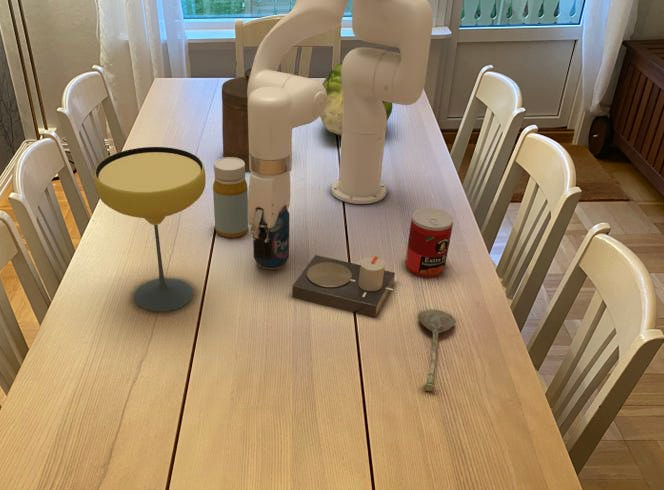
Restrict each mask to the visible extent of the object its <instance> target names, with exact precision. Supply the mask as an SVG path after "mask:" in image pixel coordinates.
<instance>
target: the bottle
mask: <svg viewBox="0 0 664 490" xmlns="http://www.w3.org/2000/svg"><path fill="white" fill-rule="evenodd" d="M213 172H214V180H213V184H212V193H213V194H212V195H213V213H214V228H215V229H214V230H215V232H216V233H217V234H218V235H219V236H221V237H224V238H229V239H234V238H235V239H237V238H240V237H242V236H244V235H245V234H246V233H247V232H248V230H249V223H248V190H249V186H248V182H247V180H246V171H245V163H244V161H243V160H241V159H239V158H233V157H227V158H223V157H221V158H219V159H216V161H215V162H214V163H213Z"/></svg>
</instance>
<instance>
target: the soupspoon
mask: <svg viewBox="0 0 664 490" xmlns="http://www.w3.org/2000/svg"><path fill="white" fill-rule="evenodd" d="M417 318H418V320H419V322H420V323H421V324H422V325H423V326H424V327H425V328H427V330H429V331H430V332H431V333H432V337H431V338H432V339H431V343H432V344H431V353H430V366H429V373H428V374H427V375H428V377H427V379H426V382H425V384H424V385H423V386H422V388H423V390H425V391H427V392H433V391H434V390H435V389H436V388H435V385H434V380H435V379H434V377H435V368H436V362H437V361H436V360H437V350H438V349H437V348H438V341H439V334H440V333H444V332H446V331H449V330H450V329H451V328H453V327H454V326H455V325H456V322H457V321H456V319H455V317H454V316H452V314H450V313H448V312H445V311H442V310H438V309H427V310H423V311H421V312H419V313H418V314H417Z"/></svg>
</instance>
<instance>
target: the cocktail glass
mask: <svg viewBox="0 0 664 490" xmlns="http://www.w3.org/2000/svg"><path fill="white" fill-rule="evenodd" d="M93 178H94V180H93V181H94V187H95V191H96V194H97V196H98V198H99V199H100V200H101V202H102V203H103V204H104V205H105V206H106V207H108V208H109V209H111V210H113V211H114V212H117V213H118V214H122V215H125V216H128V217H133V218H140V219H144V220H145V221H147V222H148V224H150V225H152V226H153V227H154V236H155V237H154V238H155V244H156V245H155V247H156V254H157V265H158V278H157V279H152V280H149V281H147V282H145V283H143V284H141V285H140V286H139V287H137V289H136V290H135V292H134V294H133V295H134V296H133V299H134V303H135V304H136V305H137V306H138V307H140V308H141V309H143V310H146V311H148V312H153V313H167V312H168V313H169V312H174V311H176V310H179V309H181V308H183V307H185V306H186V305H188V304H189V303H190V302H191V300H192V299H193V294H194V292H193V288H192V287H191V285H190V284H188V283H187V282H185V281H183V280H181V279H176V278H170V277H169V278H167V277H166V278H165V275H164V267H163V260H162V259H163V258H162V252H161V243H160V242H161V241H160V235H159V225H160V224H161V223H162V222H164V220H165V218H166V217H169V216H172V215H175V214H178V213H180V212H183V211H184V210H187V209H188V208H189V207H191V206H192V205H193V204H195V203H196V202H197V201H198V200H199V199H200V198H201V197H202V195H203V194H204V191H205V188H206V183H207V182H206V181H207V179H206V170H205V166H204V163H203V162H202V160H201V159H200V158H199V157H198V156H197V155H195V154H193V153H192V152H189V151H186V150H183V149H180V148H174V147H166V146H146V147H136V148H132V149H131V148H130V149H126V150H123V151H119V152H116V153H114V154H111V155H109V156H107V157H106V158H104V159H103V160H102V161H100V162H99V163H98V165H97V166H96V168H95V169H94V176H93Z"/></svg>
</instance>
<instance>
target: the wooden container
mask: <svg viewBox="0 0 664 490" xmlns="http://www.w3.org/2000/svg"><path fill="white" fill-rule="evenodd" d="M251 70H252V67H251V68H248V69H246V70H245V72H244V76H239V77H234V78H231V79H228V80H226V81H224V82H223V83H222V85H221V109H222V110H221V121H222V122H221V124H222V125H221V126H222V128H221V130H222V155H223V156H222V158H227V157H233V158H239V159H241V160H243V161H244V163H245V172H250V166H249V134H248V97H247V89H248V82H249V77H250V73H251Z"/></svg>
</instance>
